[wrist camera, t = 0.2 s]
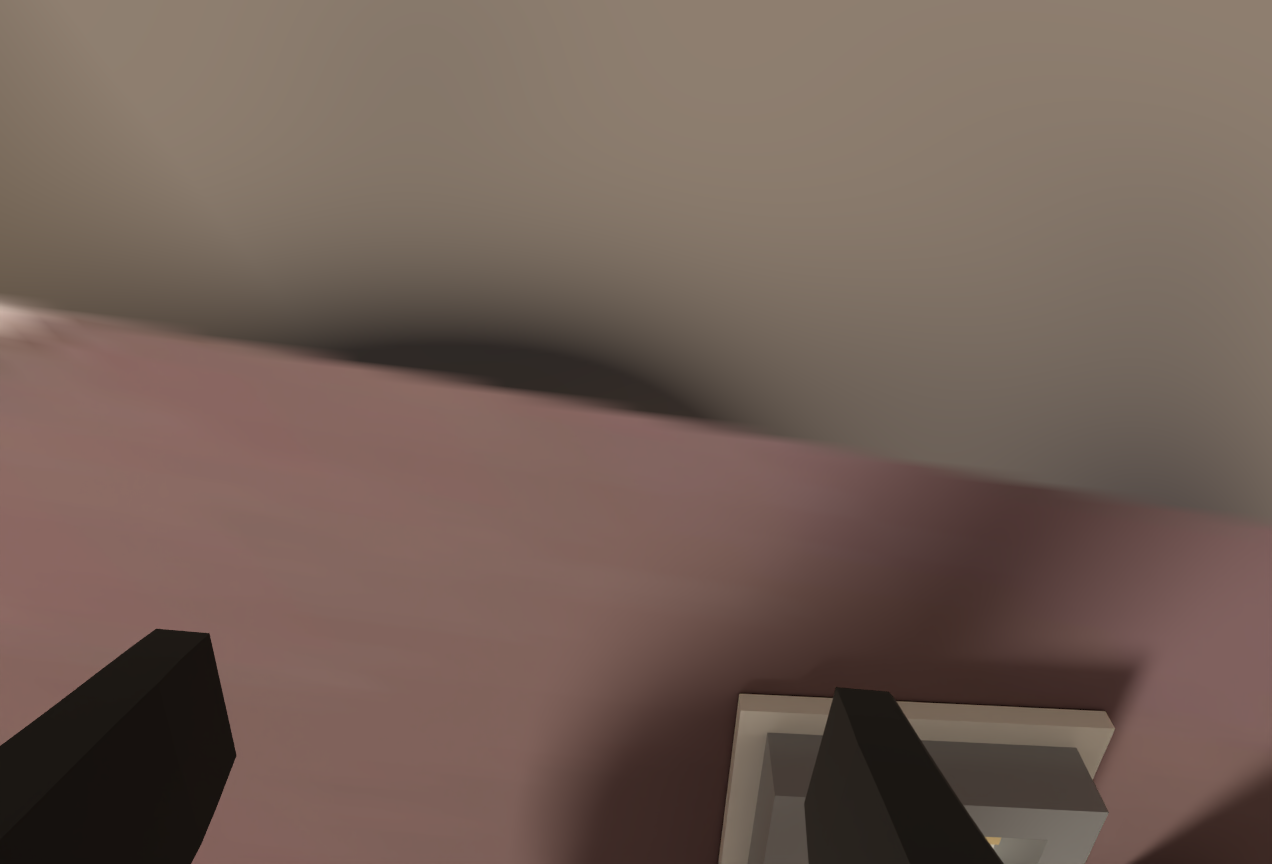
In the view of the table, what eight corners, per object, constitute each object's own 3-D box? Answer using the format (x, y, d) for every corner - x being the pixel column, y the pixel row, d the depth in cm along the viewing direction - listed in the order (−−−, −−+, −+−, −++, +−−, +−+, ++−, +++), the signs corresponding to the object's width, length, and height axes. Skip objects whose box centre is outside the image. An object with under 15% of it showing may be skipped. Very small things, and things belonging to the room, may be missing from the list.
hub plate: (1014, 923, 29) (1043, 1007, 26) (712, 907, 29) (716, 990, 26) (1105, 711, 24) (1151, 793, 21) (739, 693, 24) (746, 773, 21)
